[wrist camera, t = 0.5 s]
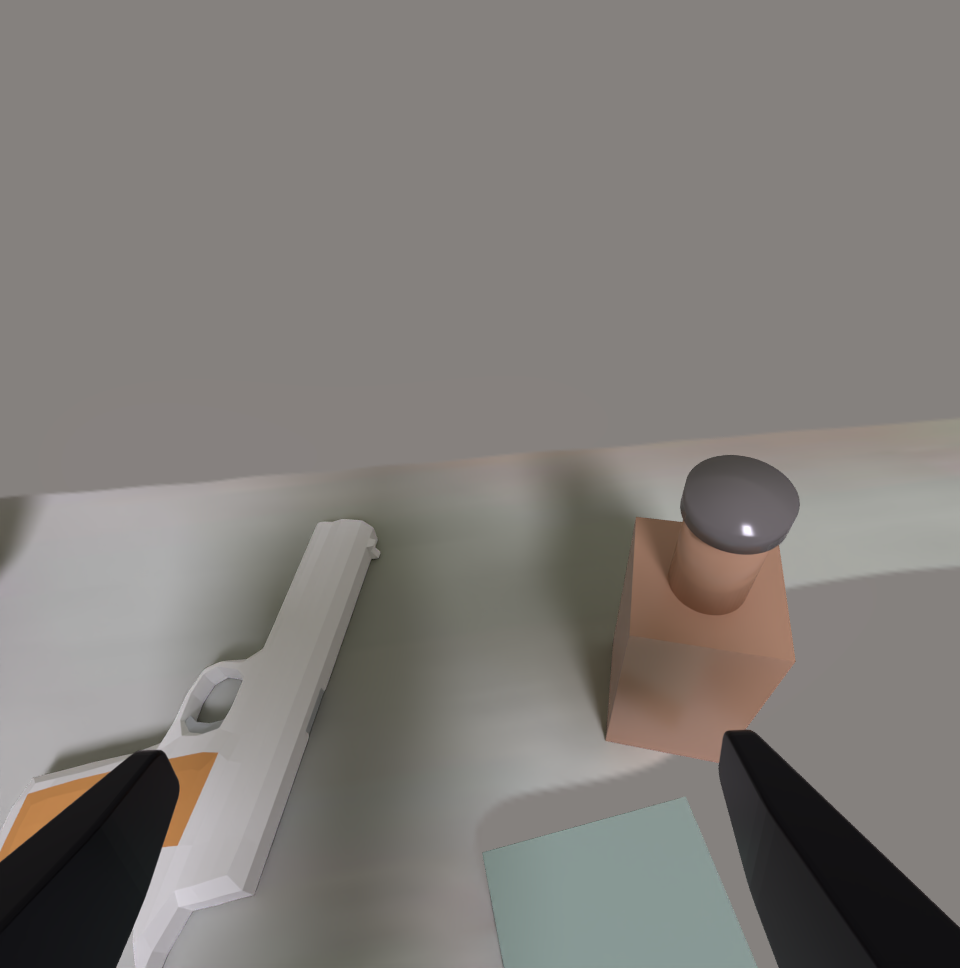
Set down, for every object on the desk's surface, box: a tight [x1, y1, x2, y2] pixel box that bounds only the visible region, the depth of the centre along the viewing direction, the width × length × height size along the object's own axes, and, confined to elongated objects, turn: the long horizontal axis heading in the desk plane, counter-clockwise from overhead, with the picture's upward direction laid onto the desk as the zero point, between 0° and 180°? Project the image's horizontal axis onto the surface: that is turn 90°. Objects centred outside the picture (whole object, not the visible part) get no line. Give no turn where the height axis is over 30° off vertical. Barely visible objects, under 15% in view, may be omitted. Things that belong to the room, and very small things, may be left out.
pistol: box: [0, 519, 381, 968], centre depth 27 cm, size 2×20×11 cm
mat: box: [482, 797, 758, 968], centre depth 19 cm, size 8×8×1 cm
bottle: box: [606, 455, 800, 763], centre depth 20 cm, size 5×5×14 cm
